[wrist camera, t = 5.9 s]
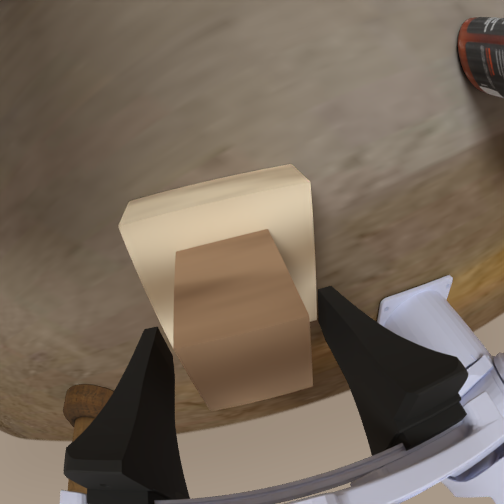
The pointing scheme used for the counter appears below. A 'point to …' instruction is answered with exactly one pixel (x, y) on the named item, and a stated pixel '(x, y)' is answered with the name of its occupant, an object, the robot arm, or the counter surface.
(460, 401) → the robot arm
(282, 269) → the walnut block
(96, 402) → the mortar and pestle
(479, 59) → the supplement bottle
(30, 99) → the counter surface
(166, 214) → the birch base block
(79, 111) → the counter surface
